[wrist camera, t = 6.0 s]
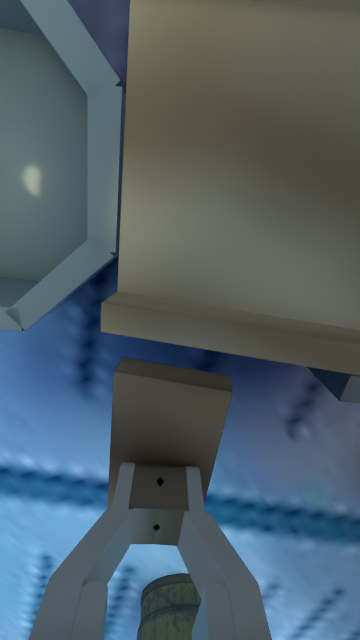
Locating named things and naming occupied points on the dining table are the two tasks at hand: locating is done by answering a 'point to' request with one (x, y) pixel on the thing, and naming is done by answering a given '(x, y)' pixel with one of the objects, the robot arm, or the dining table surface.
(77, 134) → the octagonal bowl
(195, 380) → the tipping board
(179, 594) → the thermos
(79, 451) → the dining table surface
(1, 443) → the dining table surface
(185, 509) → the robot arm
